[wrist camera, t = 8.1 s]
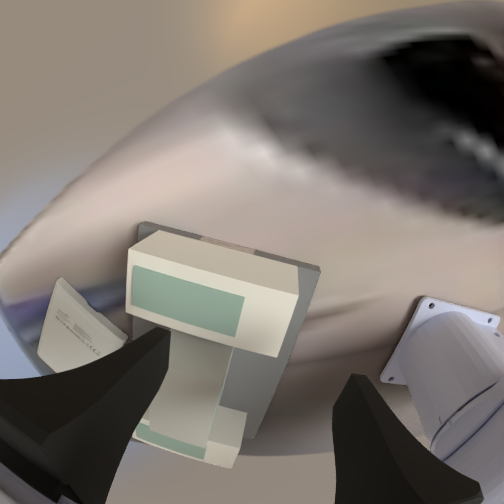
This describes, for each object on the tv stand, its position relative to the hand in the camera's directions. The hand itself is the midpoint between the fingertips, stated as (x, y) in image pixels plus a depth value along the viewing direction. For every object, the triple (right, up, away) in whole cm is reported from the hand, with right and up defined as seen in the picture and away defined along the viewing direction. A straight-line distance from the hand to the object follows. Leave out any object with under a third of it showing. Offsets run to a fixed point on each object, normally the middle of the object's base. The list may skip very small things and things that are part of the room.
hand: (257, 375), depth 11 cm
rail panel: (-4, -3, +11) cm, 12 cm away
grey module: (-4, -3, +10) cm, 11 cm away
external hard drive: (-18, -4, +14) cm, 23 cm away
